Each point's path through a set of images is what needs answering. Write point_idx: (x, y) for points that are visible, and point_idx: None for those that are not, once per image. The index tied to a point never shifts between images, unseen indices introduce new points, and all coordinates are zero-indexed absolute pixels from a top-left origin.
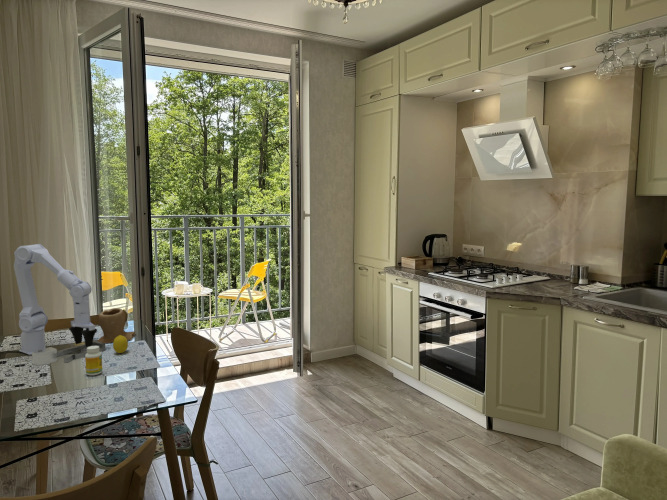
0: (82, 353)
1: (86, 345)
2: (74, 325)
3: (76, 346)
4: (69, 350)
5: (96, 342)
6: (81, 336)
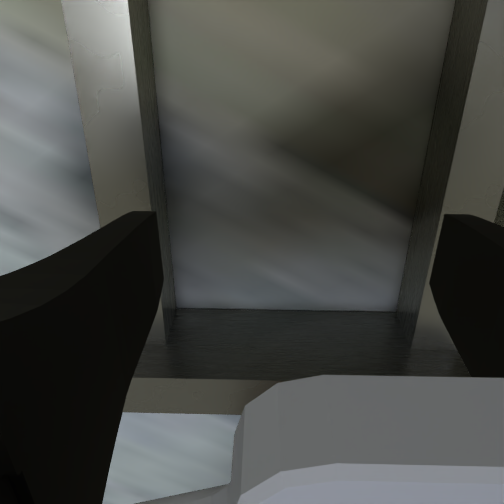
0: (81, 86)
1: (119, 218)
2: (251, 481)
3: (476, 213)
4: (460, 77)
5: (244, 383)
6: (471, 359)
